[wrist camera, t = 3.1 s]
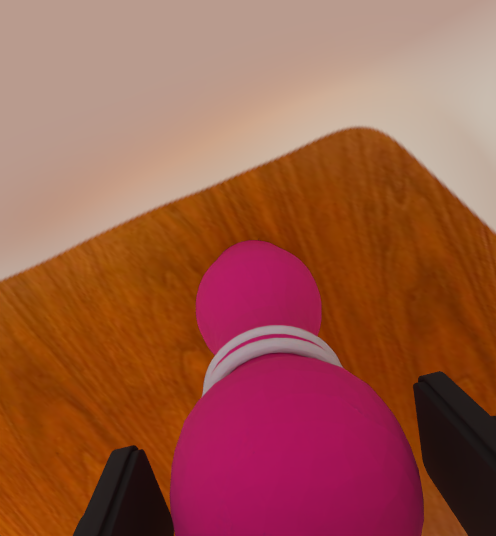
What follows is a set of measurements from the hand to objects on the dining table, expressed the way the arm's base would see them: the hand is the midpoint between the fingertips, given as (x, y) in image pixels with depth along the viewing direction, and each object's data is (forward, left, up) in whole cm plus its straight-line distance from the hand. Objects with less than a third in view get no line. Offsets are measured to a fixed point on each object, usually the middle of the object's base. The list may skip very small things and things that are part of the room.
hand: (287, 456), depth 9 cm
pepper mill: (0, 0, -15) cm, 15 cm away
